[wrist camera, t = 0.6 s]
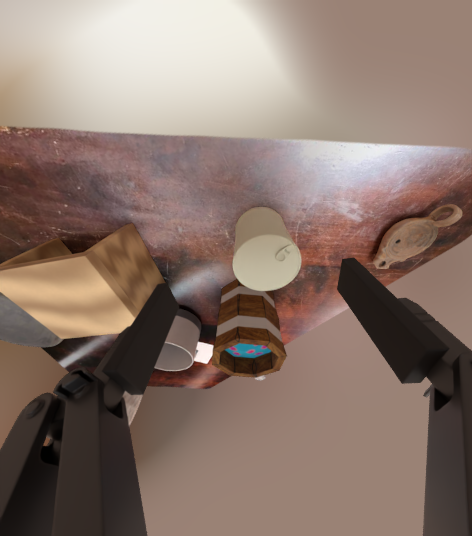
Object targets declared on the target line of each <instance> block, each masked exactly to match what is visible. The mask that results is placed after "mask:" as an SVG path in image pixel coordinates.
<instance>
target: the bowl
mask: <svg viewBox="0 0 472 536" xmlns="http://www.w3.org/2000/svg"><path fill="white" fill-rule="evenodd" d="M0 340H3V341H6V342H10V343H13V344H18V345H23V346H33V347H51V346H54V345H57V344H59V343H60V342H61V341H62V340H63V339H61V338H60V337H58V336H57V335H56V334H54V333H53V332H52V331H50V330H49V329H48V328H47V327H45V326H44V325H43V324H41V323H40V322H39V321H37V320H36V319H35V318H34V317H32V316H31V315H30V314H28V313H27V312H26V311H24V310H23V309H22V308H21V307H19V306H18V305H17V304H15V303H14V302H13V301H11V300H10V299H9V298H8V297H6V296H5V295H4V294H2V293H1V292H0Z"/></svg>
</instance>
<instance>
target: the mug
mask: <svg viewBox="0 0 472 536" xmlns="http://www.w3.org/2000/svg"><path fill="white" fill-rule="evenodd" d="M286 356H287V355H286V352H285V349H284V346H283V343H282V338H281V333H280V325H279V318H278V315H277V312H276V309H275V304H274V294H273V292H272V291H258V290H253V289H250V288H248V287H246V286H245V285H243V284H242V283H241V282H240V281H239V280H238V279H236V280H235V281H233V282H232V283H230V284H228V285H227V286H225V287H223V288H222V291H221V305H220V309H219V313H218V325H217V335H216V339H215V343H214V347H213V356H212V365H213V366H215V367H217V368H218V369H220V370H222V371H224V372H225V373H227V374H229V375H230V376H243V377H254V378H255V379H256V380H263V379H265V378H266V376H265V375H266V374H269V373H273V372H276V371H279V370H280V368H281V366H282V364H283V362H284V360H285V358H286Z"/></svg>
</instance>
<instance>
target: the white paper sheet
mask: <svg viewBox="0 0 472 536" xmlns="http://www.w3.org/2000/svg"><path fill="white" fill-rule="evenodd" d="M213 347H214V345H210V344H206V343H202V342H198V344H197V349H196V353H195V357H194V361H197V362H202V363H206V364H207V363H208V361H209V360H210V358H211V356H212V355H213Z"/></svg>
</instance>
